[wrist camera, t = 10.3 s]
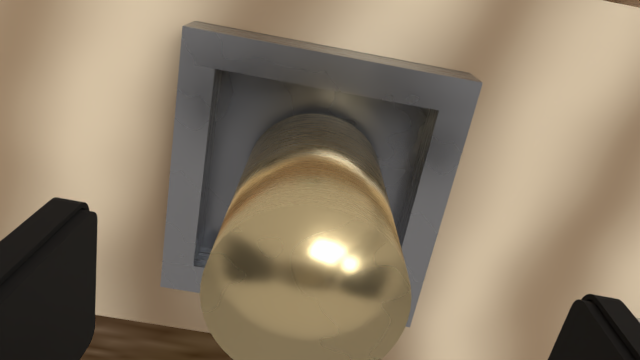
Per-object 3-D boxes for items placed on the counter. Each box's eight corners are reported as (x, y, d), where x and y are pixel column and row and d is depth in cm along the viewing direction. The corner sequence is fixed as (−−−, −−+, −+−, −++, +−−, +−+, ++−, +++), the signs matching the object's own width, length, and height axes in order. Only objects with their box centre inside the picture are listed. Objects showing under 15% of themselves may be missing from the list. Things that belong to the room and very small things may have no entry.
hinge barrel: (407, 172, 18) (455, 294, 11) (319, 260, 19) (315, 415, 12) (306, 84, 17) (293, 161, 10) (219, 183, 18) (158, 308, 11)
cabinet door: (915, 64, 18) (1024, 83, 15) (722, 390, 23) (776, 449, 20) (-9, -121, 16) (-79, -138, 13) (6, 275, 21) (-42, 321, 18)
